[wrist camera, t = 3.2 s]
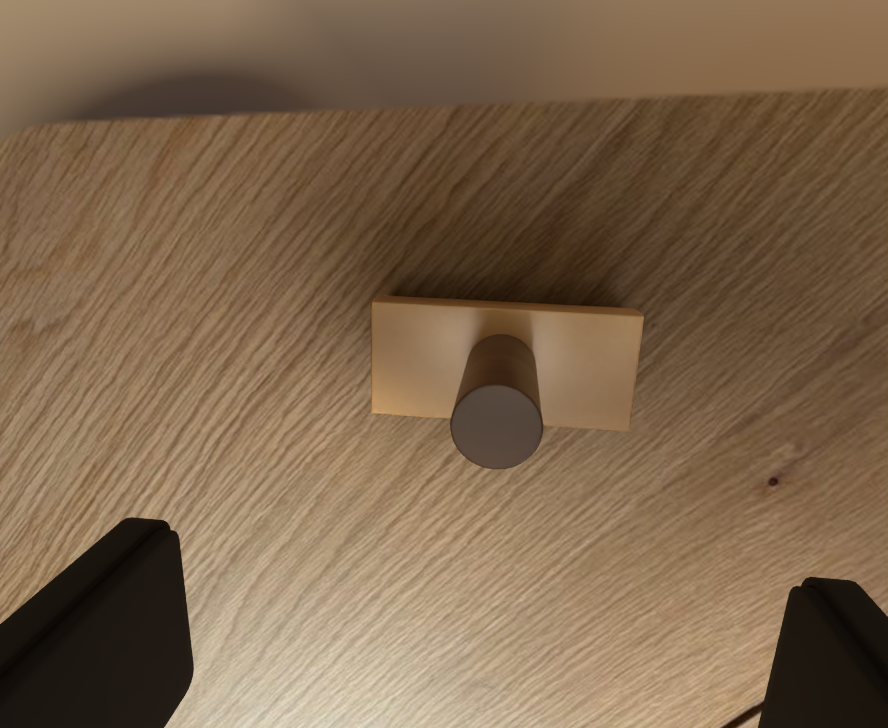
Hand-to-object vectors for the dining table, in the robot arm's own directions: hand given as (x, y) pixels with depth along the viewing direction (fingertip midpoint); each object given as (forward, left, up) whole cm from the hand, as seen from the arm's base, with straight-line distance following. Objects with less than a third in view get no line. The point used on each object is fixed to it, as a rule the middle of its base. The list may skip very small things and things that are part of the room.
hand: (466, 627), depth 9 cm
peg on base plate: (0, 0, -17) cm, 17 cm away
